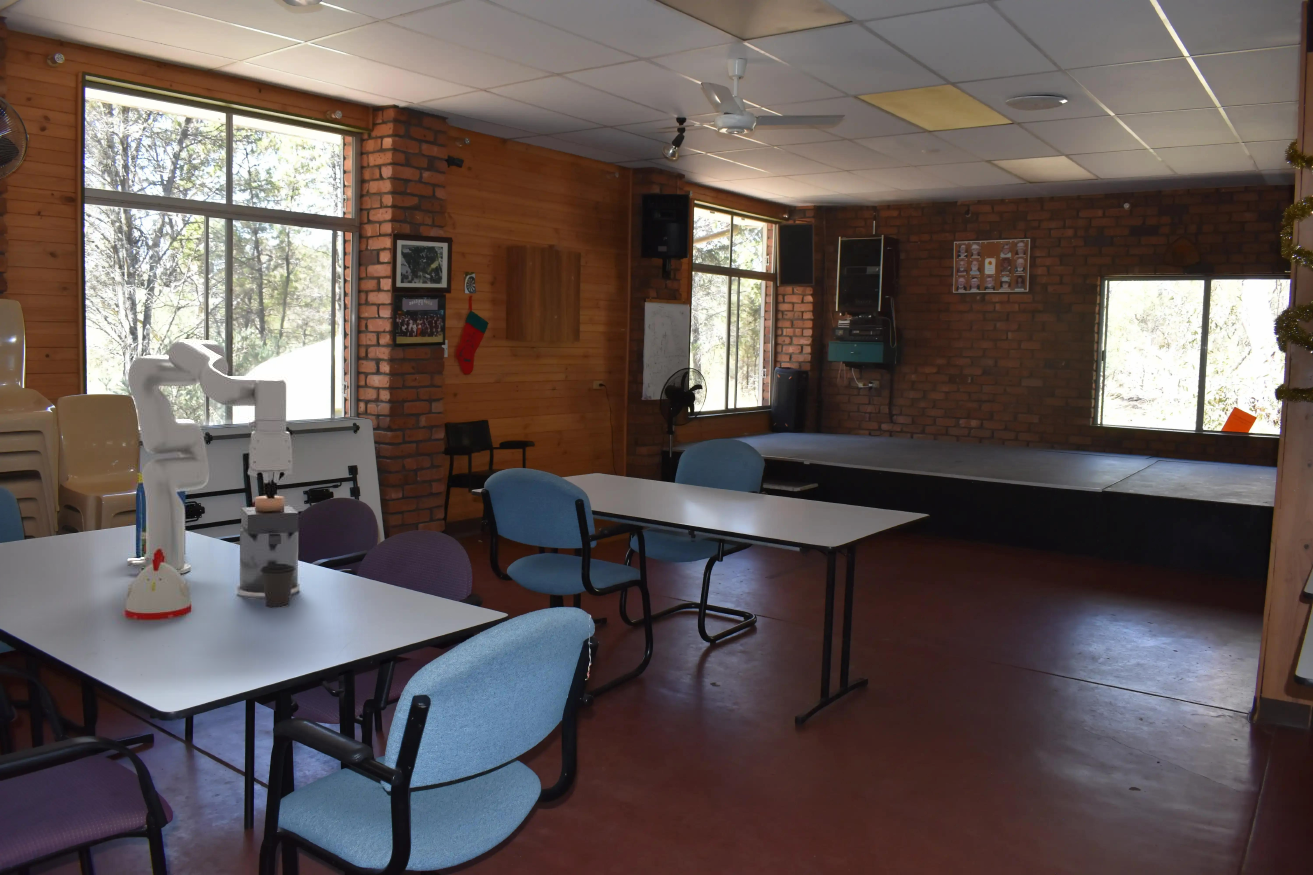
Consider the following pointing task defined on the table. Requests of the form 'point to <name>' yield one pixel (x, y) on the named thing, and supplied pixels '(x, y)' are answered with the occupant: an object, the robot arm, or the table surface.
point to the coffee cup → (277, 584)
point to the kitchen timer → (158, 592)
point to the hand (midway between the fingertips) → (270, 497)
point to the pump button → (269, 503)
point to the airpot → (266, 547)
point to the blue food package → (144, 517)
